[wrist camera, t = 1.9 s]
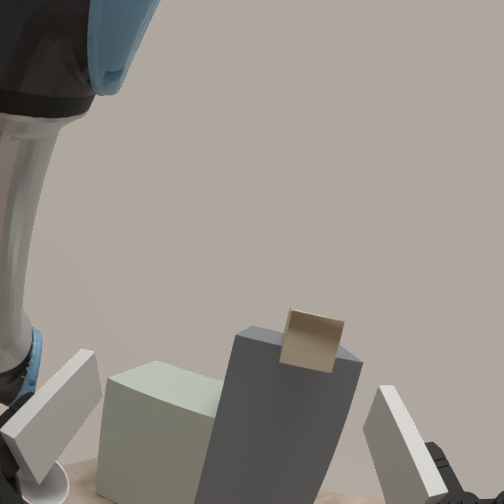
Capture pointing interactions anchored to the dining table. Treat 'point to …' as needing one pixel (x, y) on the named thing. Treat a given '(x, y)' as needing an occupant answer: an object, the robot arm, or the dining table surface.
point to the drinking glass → (46, 487)
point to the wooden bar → (310, 340)
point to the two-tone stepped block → (224, 429)
